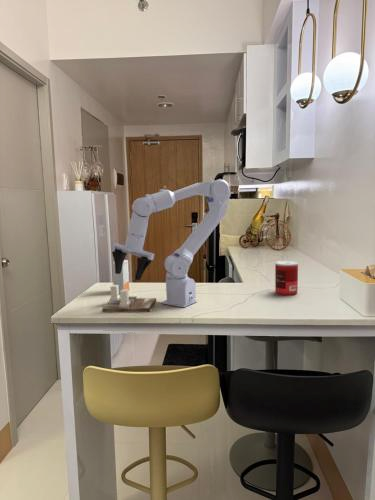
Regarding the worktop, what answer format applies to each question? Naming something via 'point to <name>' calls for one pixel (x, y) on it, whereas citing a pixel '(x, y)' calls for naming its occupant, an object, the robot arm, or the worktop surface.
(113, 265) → the skincare box
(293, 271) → the canned food
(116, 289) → the knob back
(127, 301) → the knob front
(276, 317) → the worktop surface
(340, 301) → the worktop surface
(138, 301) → the switch board
